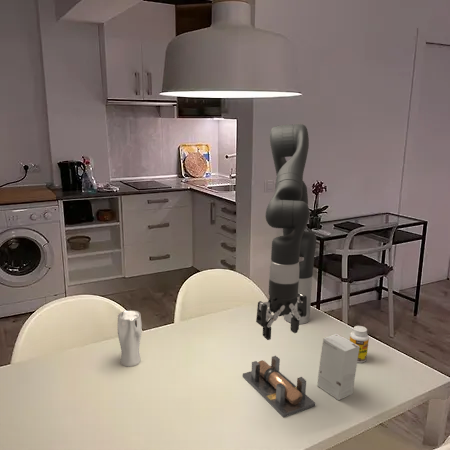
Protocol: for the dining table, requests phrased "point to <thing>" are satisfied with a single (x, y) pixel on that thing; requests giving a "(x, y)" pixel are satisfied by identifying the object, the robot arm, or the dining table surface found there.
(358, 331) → the supplement bottle
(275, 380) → the copper tube
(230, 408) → the dining table surface
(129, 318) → the white sculpted vase
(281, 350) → the dining table surface
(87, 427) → the dining table surface
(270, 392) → the tube holder
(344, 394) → the skincare box
